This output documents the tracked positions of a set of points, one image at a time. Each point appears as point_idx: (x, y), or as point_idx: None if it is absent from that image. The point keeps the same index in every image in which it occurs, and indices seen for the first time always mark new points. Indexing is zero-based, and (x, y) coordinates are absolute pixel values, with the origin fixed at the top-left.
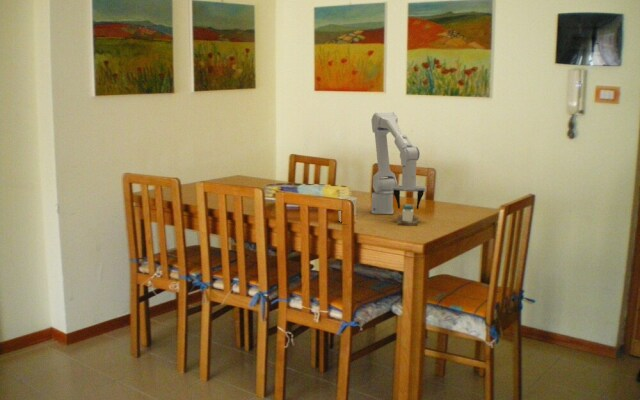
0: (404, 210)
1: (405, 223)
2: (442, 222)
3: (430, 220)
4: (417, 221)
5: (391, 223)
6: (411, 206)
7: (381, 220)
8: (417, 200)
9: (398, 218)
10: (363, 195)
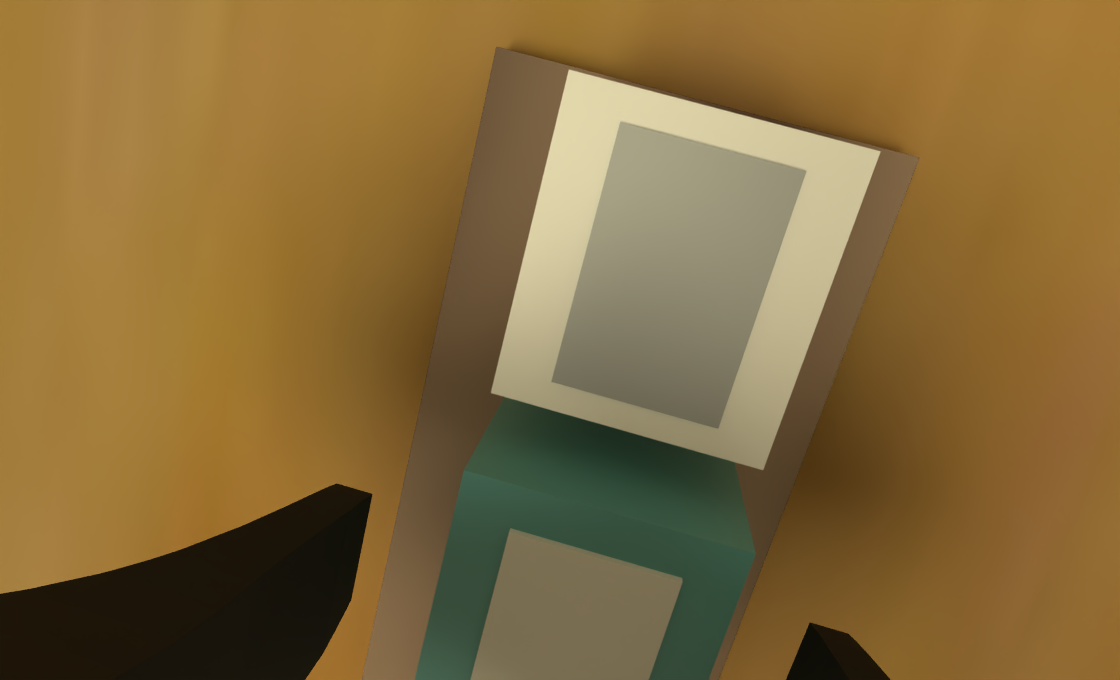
0: (783, 262)
1: (741, 113)
2: (14, 302)
3: (196, 479)
4: (446, 296)
5: (974, 322)
6: (502, 507)
7: (1079, 599)
8: (231, 594)
9: (769, 544)
10: None
